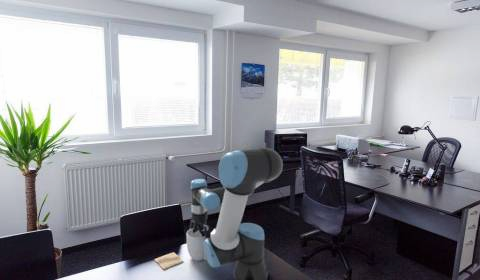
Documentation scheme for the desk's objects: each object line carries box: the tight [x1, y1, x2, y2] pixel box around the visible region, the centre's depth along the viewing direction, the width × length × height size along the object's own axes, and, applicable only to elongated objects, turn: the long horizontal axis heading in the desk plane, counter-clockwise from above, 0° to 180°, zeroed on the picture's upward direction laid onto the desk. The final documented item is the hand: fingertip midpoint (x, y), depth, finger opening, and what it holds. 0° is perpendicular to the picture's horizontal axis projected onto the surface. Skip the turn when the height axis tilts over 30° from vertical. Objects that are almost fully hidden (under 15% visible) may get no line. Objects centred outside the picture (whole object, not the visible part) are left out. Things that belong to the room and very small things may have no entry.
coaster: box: [154, 251, 184, 271], centre depth 143 cm, size 10×10×1 cm
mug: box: [186, 228, 212, 262], centre depth 147 cm, size 15×11×13 cm
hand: (200, 253), depth 147 cm, fingers closed on mug, 11 cm apart
